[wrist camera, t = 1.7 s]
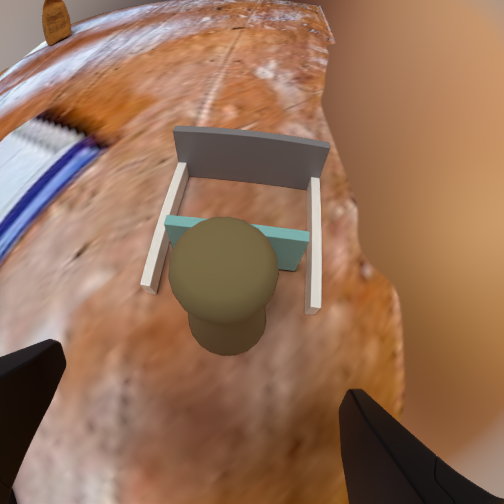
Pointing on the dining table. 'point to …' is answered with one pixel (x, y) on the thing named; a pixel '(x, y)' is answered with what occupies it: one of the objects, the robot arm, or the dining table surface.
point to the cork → (224, 282)
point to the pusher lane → (246, 170)
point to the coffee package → (55, 21)
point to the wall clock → (11, 498)
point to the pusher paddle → (282, 240)
